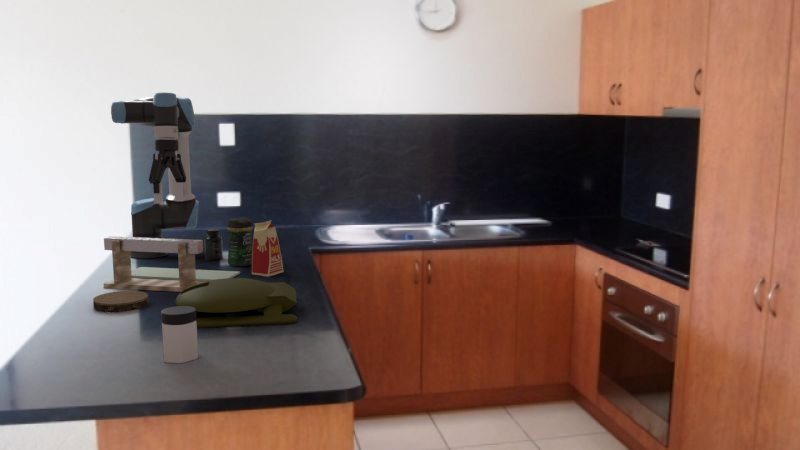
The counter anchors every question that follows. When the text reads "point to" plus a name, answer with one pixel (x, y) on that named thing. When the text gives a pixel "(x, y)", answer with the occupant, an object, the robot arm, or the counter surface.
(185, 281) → the rail rack
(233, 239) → the coffee jar
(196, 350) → the jar
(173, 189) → the robot arm
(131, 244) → the steel rail
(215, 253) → the supplement bottle
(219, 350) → the counter surface
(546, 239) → the counter surface
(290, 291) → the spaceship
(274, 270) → the milk carton
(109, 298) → the wooden log slice
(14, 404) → the counter surface
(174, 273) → the sage mat
